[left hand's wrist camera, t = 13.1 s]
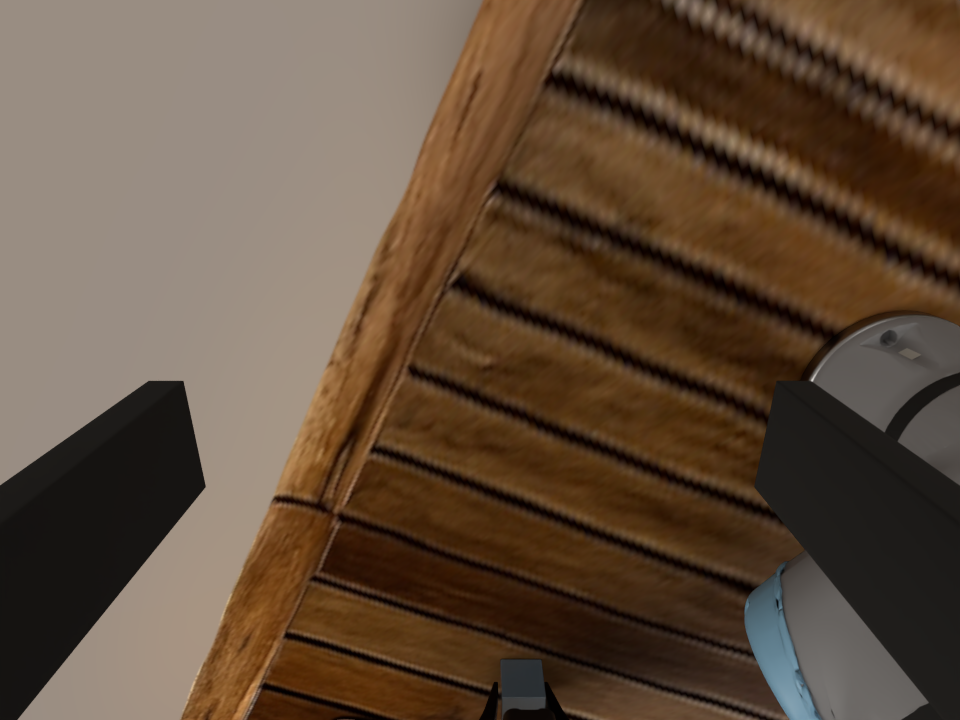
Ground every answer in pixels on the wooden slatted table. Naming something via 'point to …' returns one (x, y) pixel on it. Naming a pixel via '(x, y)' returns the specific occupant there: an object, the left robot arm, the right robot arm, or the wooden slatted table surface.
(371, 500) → the wooden slatted table surface
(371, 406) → the wooden slatted table surface
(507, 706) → the block
